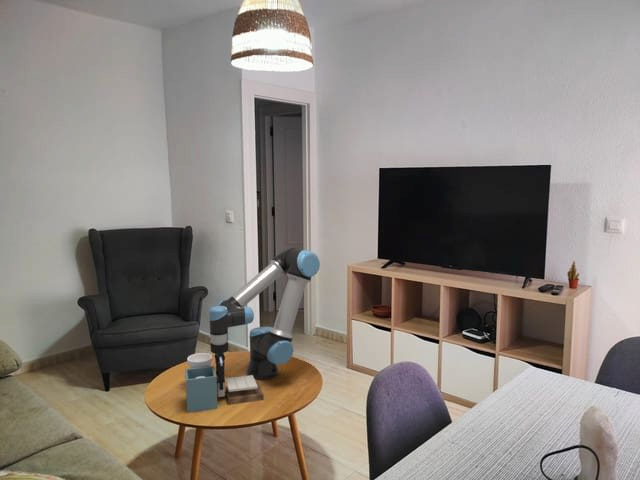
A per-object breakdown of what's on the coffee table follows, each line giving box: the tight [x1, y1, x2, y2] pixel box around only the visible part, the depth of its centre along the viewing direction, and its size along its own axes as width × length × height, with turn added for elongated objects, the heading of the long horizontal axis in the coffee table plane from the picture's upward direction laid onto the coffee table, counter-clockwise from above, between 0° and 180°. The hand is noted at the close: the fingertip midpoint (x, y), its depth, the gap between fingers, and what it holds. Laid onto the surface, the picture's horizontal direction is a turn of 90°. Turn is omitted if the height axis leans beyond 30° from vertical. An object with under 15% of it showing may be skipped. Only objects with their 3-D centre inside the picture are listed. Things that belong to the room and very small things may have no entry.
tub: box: [184, 365, 218, 414], centre depth 210 cm, size 12×12×14 cm
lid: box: [216, 375, 258, 392], centre depth 217 cm, size 17×12×6 cm
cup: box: [186, 352, 213, 369], centre depth 227 cm, size 11×11×14 cm
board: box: [225, 381, 265, 406], centre depth 219 cm, size 15×14×2 cm
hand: (220, 393), depth 216 cm, fingers open, 4 cm apart
